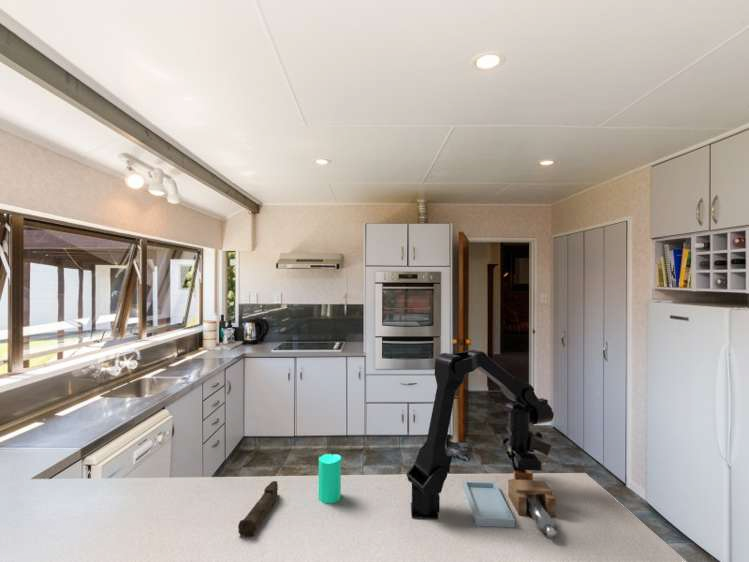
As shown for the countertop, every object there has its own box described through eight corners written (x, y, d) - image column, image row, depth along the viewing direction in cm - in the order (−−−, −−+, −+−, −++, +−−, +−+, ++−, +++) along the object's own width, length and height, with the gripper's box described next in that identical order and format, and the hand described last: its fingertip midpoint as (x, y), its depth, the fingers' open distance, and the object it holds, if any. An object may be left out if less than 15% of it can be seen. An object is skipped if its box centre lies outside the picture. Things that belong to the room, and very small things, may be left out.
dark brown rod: (253, 539, 87) (254, 518, 87) (237, 537, 88) (238, 516, 88) (286, 496, 106) (286, 479, 106) (272, 494, 106) (272, 477, 107)
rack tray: (476, 525, 93) (476, 518, 93) (463, 486, 111) (463, 480, 112) (514, 527, 92) (514, 520, 92) (495, 488, 111) (495, 482, 111)
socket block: (518, 515, 98) (518, 493, 98) (508, 496, 107) (508, 476, 107) (555, 516, 97) (555, 495, 97) (542, 497, 106) (542, 477, 106)
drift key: (523, 508, 100) (523, 485, 100) (513, 491, 109) (513, 470, 109) (542, 509, 100) (542, 486, 100) (531, 492, 109) (531, 470, 109)
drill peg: (545, 544, 87) (542, 527, 87) (526, 510, 100) (523, 496, 100) (562, 542, 87) (559, 525, 87) (540, 508, 100) (537, 494, 100)
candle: (345, 495, 106) (345, 451, 106) (331, 505, 101) (331, 458, 101) (327, 489, 109) (328, 446, 110) (313, 499, 104) (314, 453, 104)
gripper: (562, 439, 102) (562, 500, 101) (536, 416, 120) (536, 467, 120) (518, 437, 102) (518, 498, 102) (499, 415, 121) (499, 466, 121)
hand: (519, 481), depth 111 cm, fingers closed
